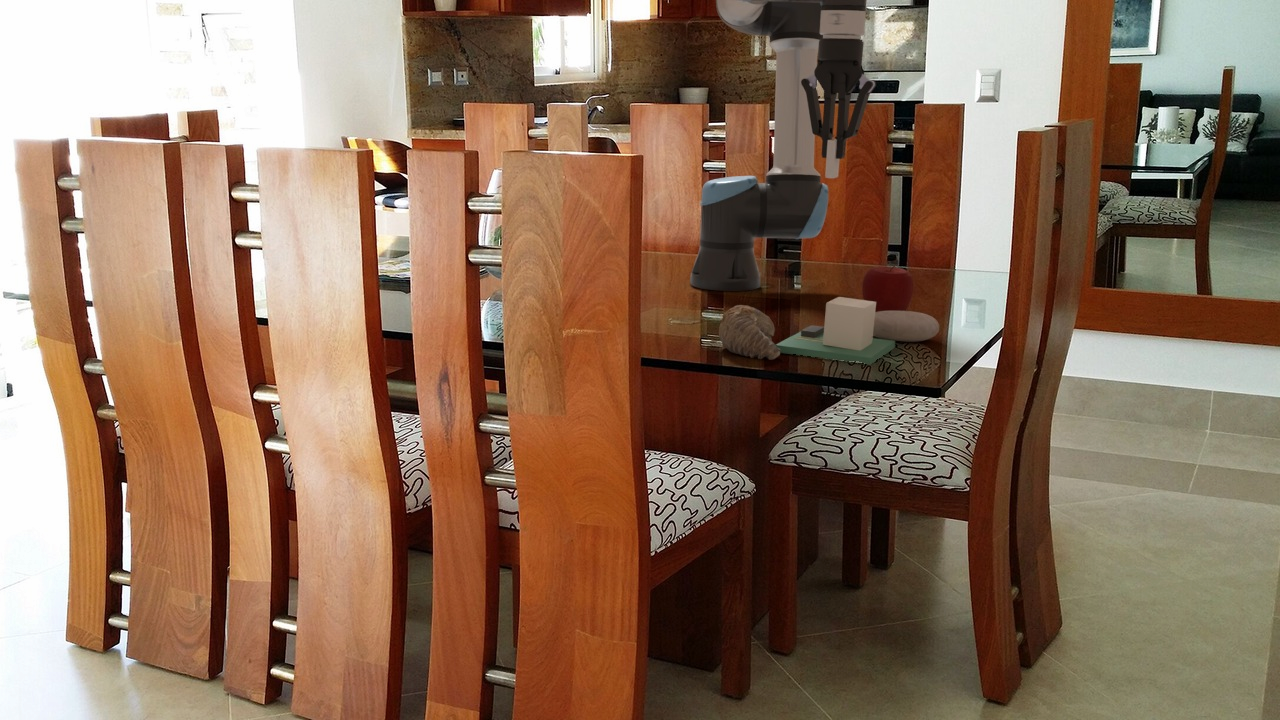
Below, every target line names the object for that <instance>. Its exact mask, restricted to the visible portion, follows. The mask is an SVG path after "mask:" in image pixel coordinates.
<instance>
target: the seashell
mask: <svg viewBox="0 0 1280 720" xmlns="http://www.w3.org/2000/svg"><path fill="white" fill-rule="evenodd" d="M775 332H776V328H775V325H774V322H773V321H772V319H771V318H770V316H768V315H767V314H765V313H763V312H762V311H761V310H759V309H757V308H756V307H752V306H751V305H750V306H749V305H748V304H746V305H745V304H736V305H734V306H733V307H731V308H729V309H728V310H726V311H725V312H724V314H723V315H722V318H721V322H720V324H719V326H718V338H719V340H720V342H721V343H722V345H723V346H724V347H725V348H726V349H727V351H728V352H730V353H733V354H735V355H740V356H741V357H743V356H744V357H750V358H751V359H754V358H757V359H758V360H763V359H764V358H766V359H767V360H768V361H770V360H771V361H772V360H775V359H777V358H778V357H779V356H780V355H781V353H780V351H781V350H780V349H779V348H778V347H776V344H775V343H774V341H772V339H773V338H772V337H774V336H775Z"/></svg>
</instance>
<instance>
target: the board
mask: <svg viewBox="0 0 1280 720" xmlns="http://www.w3.org/2000/svg"><path fill="white" fill-rule="evenodd" d="M823 335H824V326H821V325H813V324H812V325H809V326H807V327H805V328H803V329H801V330H800V331H799V332H797V333H795V334H794V335H791V336H789V337H787V338H786V339H784V340H781V341H780V342H778V343H776V344H775V345H776V347H778V348H779V349H780V350H781V351H780V354H786V355H787V354H788V355H793V354H796V355H795V356H800V355H803V356H802V357H807V356H811V357H810V358H815V357H821V358H820V359H822V358H828V359H827V360H829V359H837V360H844V361H859V362H862V363H865V364H868V365H867V366H871V365H872V363H873V364H874V363H875V362H877V361H878V360H879V358H880V357H881V358H883V357H884V356H886V354H888V353H889V352H891V351H892V350H893V349H895V347H896V341H893V340H887V339H882V338H877V337H873V339H872V344H870V345H869V346H867V347H865V348H864V349H862V350H861V351H859V350H853V349H847V348H840V347H834V346H828V345H823ZM883 355H884V356H883ZM881 358H880V359H881ZM877 359H878V360H877ZM876 360H877V361H876ZM865 364H864V365H865Z"/></svg>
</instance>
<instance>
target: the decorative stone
mask: <svg viewBox="0 0 1280 720" xmlns="http://www.w3.org/2000/svg"><path fill="white" fill-rule="evenodd" d="M939 331H940V324H939V322H938V320H937V319H936V318H934V317H933V316H931V315H930V314H926V313H923V312H919V311H912V310H911V311H910V310H906V311H879V312H875V320H874V329H873V337H874V338H877V339H884V340H892V341H895V342H903V343H904V342H905V343H911V342H912V343H915V342H923V341H926V340H927V341H928V340H930V339H932V338H934V337H935V336H936V335H938V333H939Z"/></svg>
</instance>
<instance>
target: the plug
mask: <svg viewBox="0 0 1280 720" xmlns="http://www.w3.org/2000/svg"><path fill="white" fill-rule="evenodd" d="M875 310H876V302H873V301H866V300H864V299H857V298H851V297H844V296H837V297H835V298H834V299H831V300H830V301H827V302H826V304H825V314H824V315H825V316H824V326H823V327H824V335H823V345H828V346H834V347H840V348H847V349H853V350H859V351H861V350H862V349H864V348H865V347H867V346H869V345H870V344H872V339H873V338H874V336H873V329H874V320H875Z"/></svg>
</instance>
